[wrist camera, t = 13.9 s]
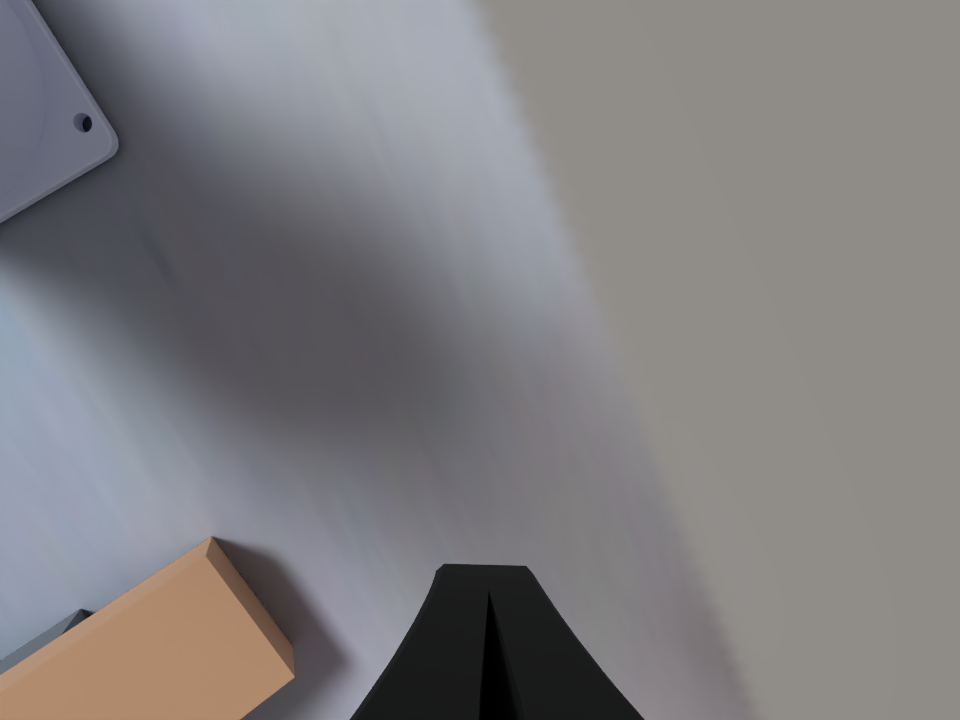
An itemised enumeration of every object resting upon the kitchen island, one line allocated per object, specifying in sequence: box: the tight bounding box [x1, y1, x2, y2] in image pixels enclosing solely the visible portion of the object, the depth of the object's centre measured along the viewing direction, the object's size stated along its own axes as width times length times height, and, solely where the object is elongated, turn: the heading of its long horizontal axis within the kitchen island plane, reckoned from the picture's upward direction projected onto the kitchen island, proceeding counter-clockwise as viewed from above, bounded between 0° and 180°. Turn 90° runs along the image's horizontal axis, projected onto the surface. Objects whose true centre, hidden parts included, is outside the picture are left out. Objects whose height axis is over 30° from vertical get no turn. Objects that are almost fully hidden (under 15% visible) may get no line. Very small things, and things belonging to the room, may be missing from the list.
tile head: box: [0, 537, 295, 720], centre depth 18 cm, size 5×2×7 cm
